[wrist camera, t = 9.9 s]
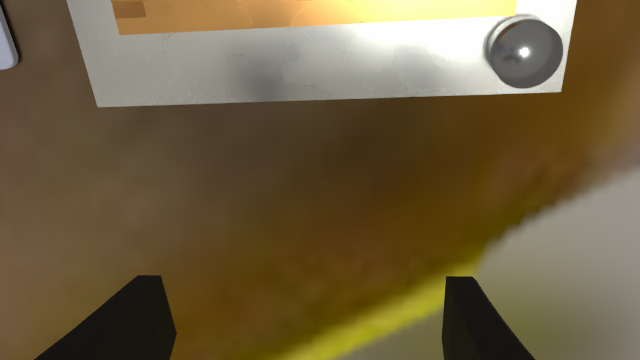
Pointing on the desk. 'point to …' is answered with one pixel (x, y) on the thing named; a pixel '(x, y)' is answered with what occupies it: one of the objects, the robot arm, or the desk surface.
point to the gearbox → (318, 49)
